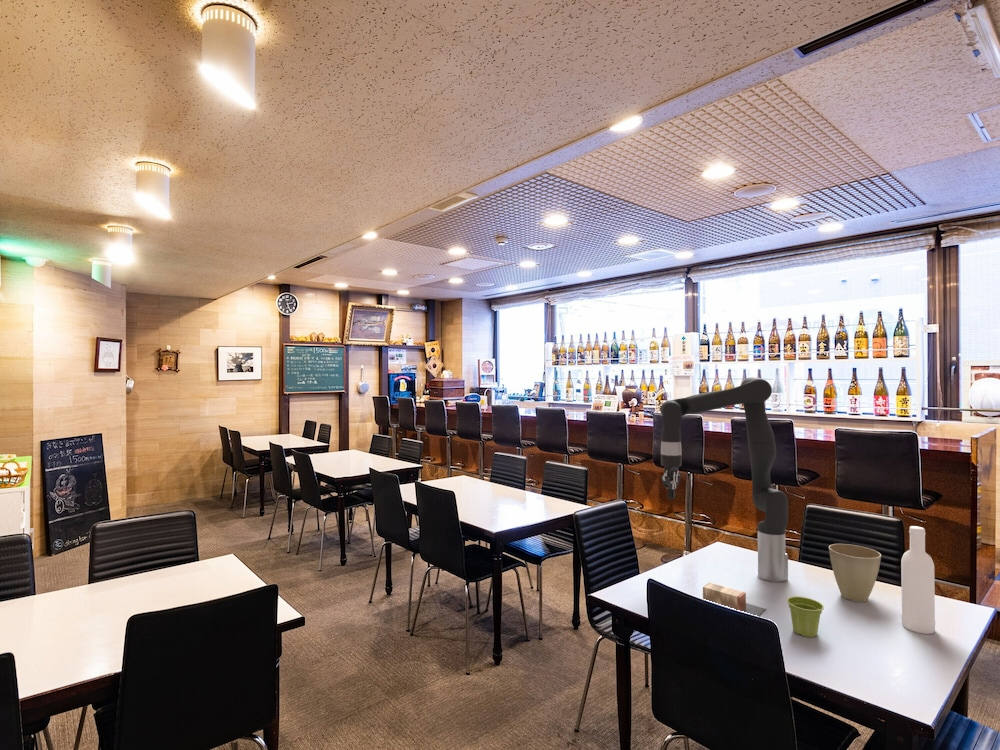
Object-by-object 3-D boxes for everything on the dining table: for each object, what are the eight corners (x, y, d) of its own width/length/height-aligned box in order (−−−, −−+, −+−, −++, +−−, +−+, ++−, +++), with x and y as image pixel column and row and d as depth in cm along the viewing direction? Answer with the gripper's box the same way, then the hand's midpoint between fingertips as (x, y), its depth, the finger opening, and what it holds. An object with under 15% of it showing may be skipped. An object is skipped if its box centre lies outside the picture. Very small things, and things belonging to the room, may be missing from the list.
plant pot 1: (814, 625, 159) (813, 596, 159) (830, 641, 150) (830, 610, 150) (781, 624, 160) (781, 595, 160) (796, 639, 151) (795, 609, 151)
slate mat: (699, 607, 172) (699, 606, 172) (716, 595, 182) (716, 594, 182) (751, 623, 161) (751, 622, 161) (765, 609, 170) (765, 608, 170)
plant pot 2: (863, 610, 169) (863, 560, 170) (819, 593, 183) (818, 547, 183) (892, 601, 176) (891, 553, 176) (846, 585, 189) (846, 541, 189)
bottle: (926, 636, 152) (925, 532, 152) (896, 625, 159) (895, 526, 159) (940, 630, 156) (939, 528, 156) (910, 619, 163) (909, 522, 163)
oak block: (702, 586, 176) (739, 597, 167) (709, 582, 179) (745, 592, 171) (702, 601, 176) (740, 613, 167) (709, 597, 179) (745, 608, 171)
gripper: (672, 456, 194) (672, 503, 194) (688, 452, 203) (688, 497, 203) (653, 454, 199) (653, 500, 199) (670, 450, 209) (670, 494, 208)
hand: (671, 498), depth 201 cm, fingers closed
